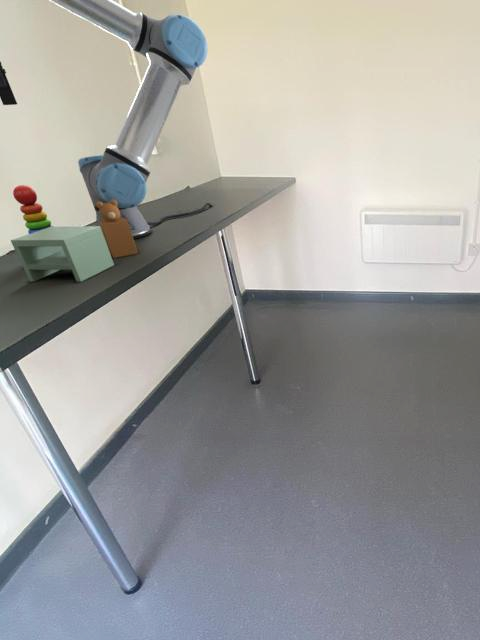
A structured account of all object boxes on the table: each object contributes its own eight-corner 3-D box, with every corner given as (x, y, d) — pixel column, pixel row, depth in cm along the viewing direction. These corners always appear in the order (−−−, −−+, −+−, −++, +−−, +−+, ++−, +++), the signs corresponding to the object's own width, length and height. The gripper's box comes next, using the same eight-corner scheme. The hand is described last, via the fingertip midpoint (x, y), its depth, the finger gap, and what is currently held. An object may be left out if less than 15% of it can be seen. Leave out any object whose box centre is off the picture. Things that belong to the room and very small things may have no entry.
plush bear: (110, 254, 137) (91, 201, 129) (134, 249, 140) (117, 197, 132) (113, 258, 133) (93, 204, 125) (138, 253, 136) (120, 200, 128)
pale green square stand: (67, 265, 129) (50, 226, 124) (114, 265, 127) (100, 226, 122) (29, 281, 118) (10, 240, 113) (81, 281, 116) (63, 239, 111)
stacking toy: (63, 250, 142) (34, 181, 132) (73, 254, 138) (44, 183, 128) (33, 257, 137) (0, 186, 127) (43, 261, 133) (10, 188, 123)
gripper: (-54, -1, 112) (-8, 105, 124) (-64, -21, 95) (-10, 105, 106) (-15, 0, 116) (26, 104, 127) (-18, -19, 98) (30, 103, 110)
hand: (10, 104), depth 117 cm, fingers open, 13 cm apart
